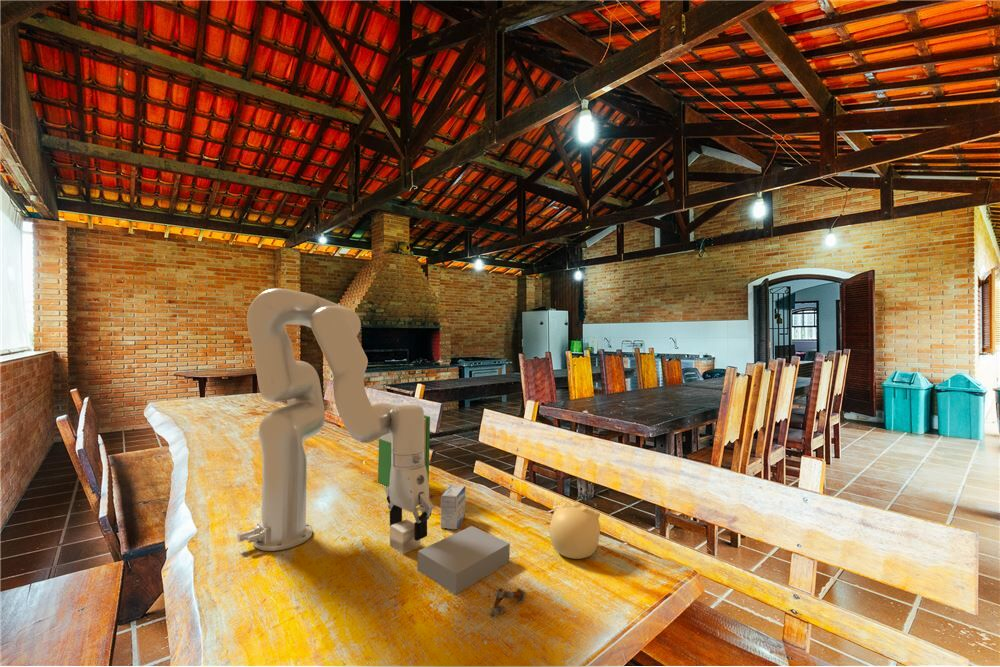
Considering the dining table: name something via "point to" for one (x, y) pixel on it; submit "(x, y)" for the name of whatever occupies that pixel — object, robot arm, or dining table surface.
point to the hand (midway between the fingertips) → (407, 531)
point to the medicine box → (453, 507)
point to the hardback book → (385, 454)
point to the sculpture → (574, 530)
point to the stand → (463, 558)
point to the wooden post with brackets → (509, 595)
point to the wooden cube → (403, 536)
